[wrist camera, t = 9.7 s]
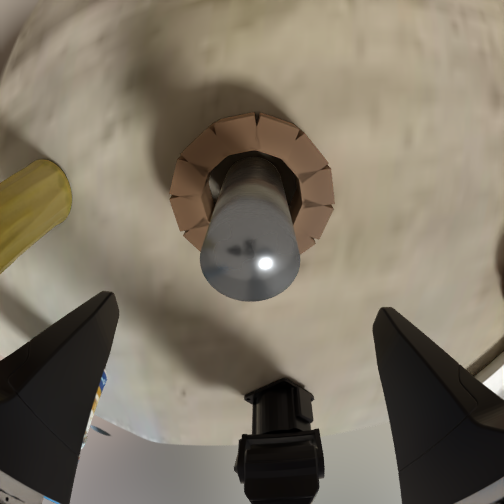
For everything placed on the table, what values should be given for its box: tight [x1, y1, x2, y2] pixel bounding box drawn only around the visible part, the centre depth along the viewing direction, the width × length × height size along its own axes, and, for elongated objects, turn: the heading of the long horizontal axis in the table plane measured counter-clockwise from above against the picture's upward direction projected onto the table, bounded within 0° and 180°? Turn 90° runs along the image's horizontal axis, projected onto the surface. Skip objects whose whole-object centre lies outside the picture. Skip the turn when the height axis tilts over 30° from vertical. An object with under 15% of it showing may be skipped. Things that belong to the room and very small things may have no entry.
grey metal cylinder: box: [200, 157, 300, 301], centre depth 16 cm, size 4×4×10 cm
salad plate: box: [474, 351, 504, 400], centre depth 35 cm, size 21×21×3 cm
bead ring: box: [169, 112, 335, 254], centre depth 19 cm, size 10×10×3 cm
